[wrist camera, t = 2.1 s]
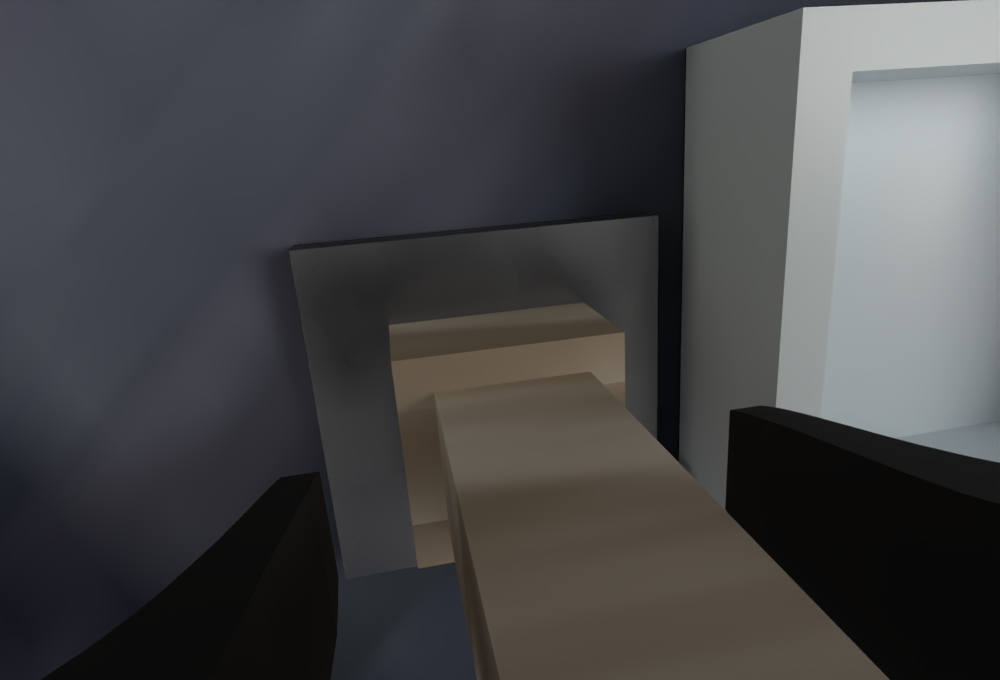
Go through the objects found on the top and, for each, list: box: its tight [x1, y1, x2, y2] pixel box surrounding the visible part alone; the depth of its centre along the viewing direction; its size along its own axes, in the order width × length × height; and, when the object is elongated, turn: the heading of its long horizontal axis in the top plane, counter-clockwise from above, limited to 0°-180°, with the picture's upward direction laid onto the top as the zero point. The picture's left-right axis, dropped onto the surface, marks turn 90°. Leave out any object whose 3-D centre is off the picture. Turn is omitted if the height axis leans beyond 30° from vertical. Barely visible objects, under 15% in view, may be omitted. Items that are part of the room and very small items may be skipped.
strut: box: [389, 302, 890, 680], centre depth 10 cm, size 4×4×10 cm
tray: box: [679, 0, 1000, 512], centre depth 14 cm, size 11×11×4 cm
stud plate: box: [289, 212, 658, 579], centre depth 14 cm, size 8×8×3 cm
